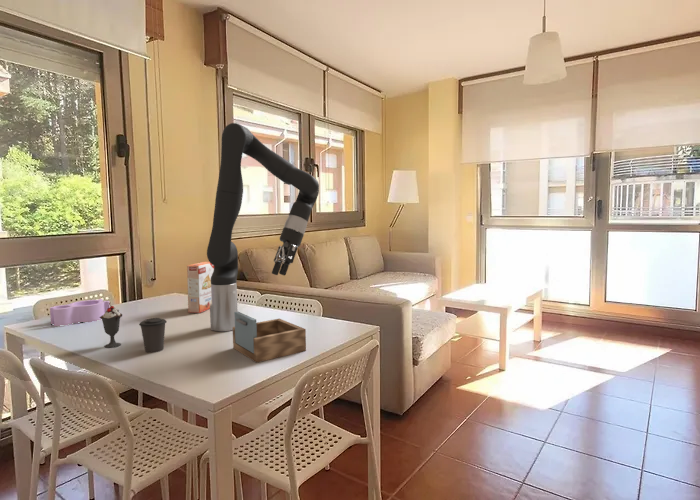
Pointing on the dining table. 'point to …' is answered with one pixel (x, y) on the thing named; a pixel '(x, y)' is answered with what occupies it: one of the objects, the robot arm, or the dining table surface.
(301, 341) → the open wooden box
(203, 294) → the cracker box
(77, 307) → the purple double bowl
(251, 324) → the flat rectangular panel
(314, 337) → the dining table surface
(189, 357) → the dining table surface
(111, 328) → the sundae
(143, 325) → the coffee cup
